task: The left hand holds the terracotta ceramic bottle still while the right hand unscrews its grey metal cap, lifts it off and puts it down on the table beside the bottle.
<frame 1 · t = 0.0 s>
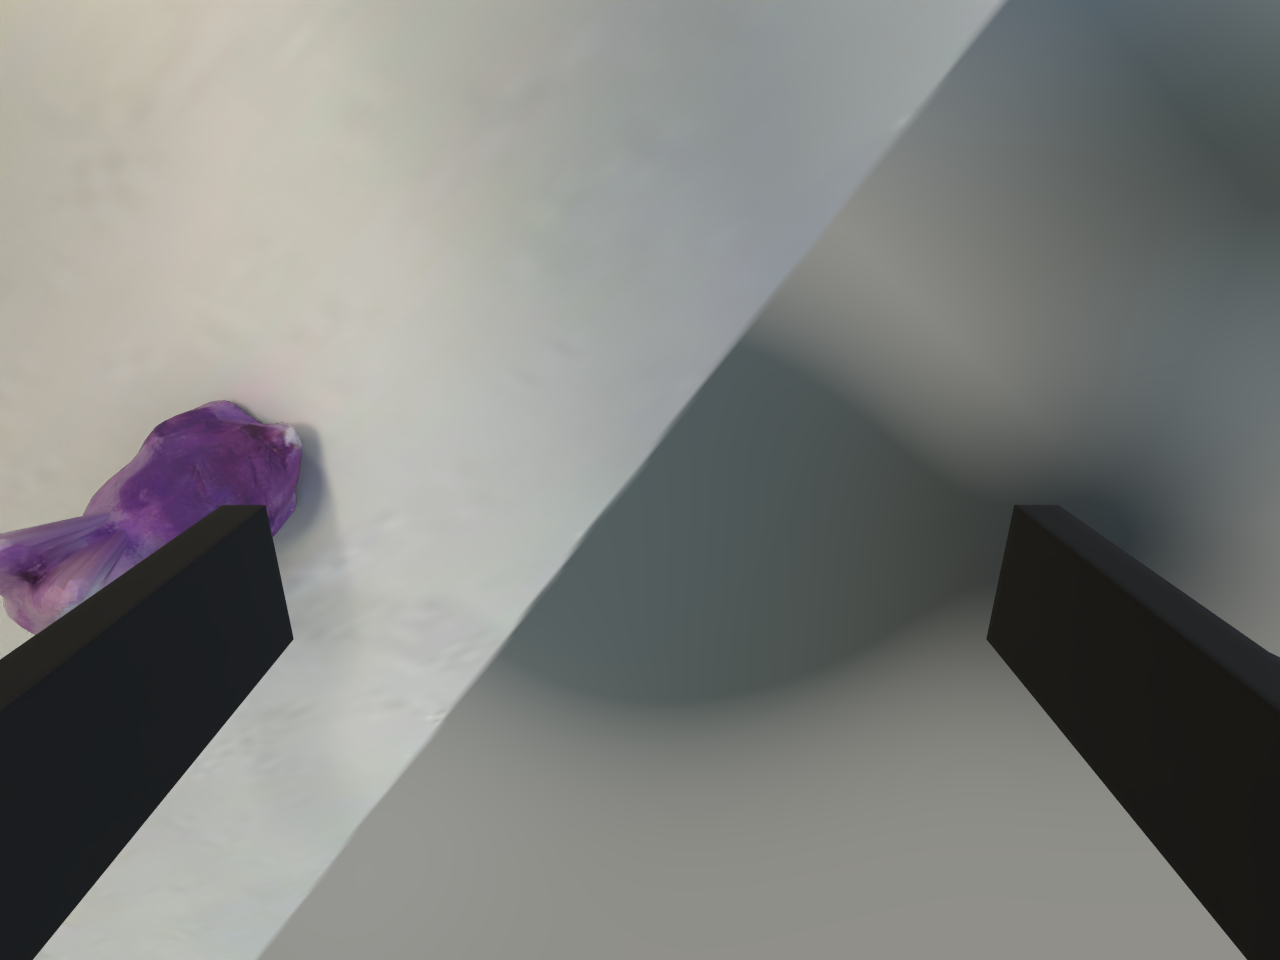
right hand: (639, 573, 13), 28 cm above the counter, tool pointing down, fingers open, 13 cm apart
figurine: (233, 478, 42), on the counter
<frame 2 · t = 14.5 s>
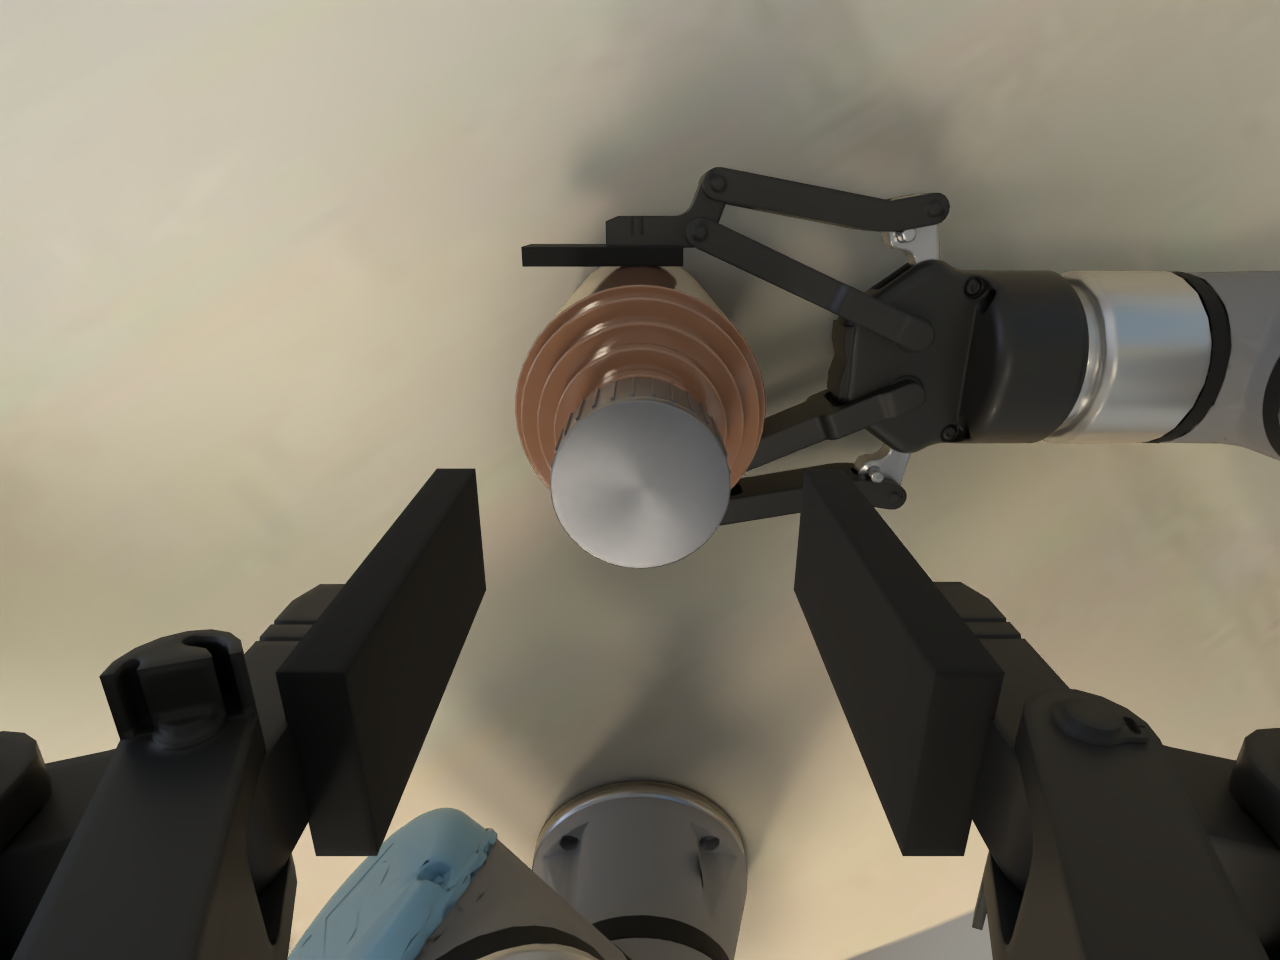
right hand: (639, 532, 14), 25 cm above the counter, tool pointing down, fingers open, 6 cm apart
left hand: (533, 358, 31), fingers closed on bottle, 8 cm apart
bottle: (640, 333, 37), on the counter, touching left hand
cap: (640, 483, 17), point 22 cm above the counter, screwed on, not yet turned
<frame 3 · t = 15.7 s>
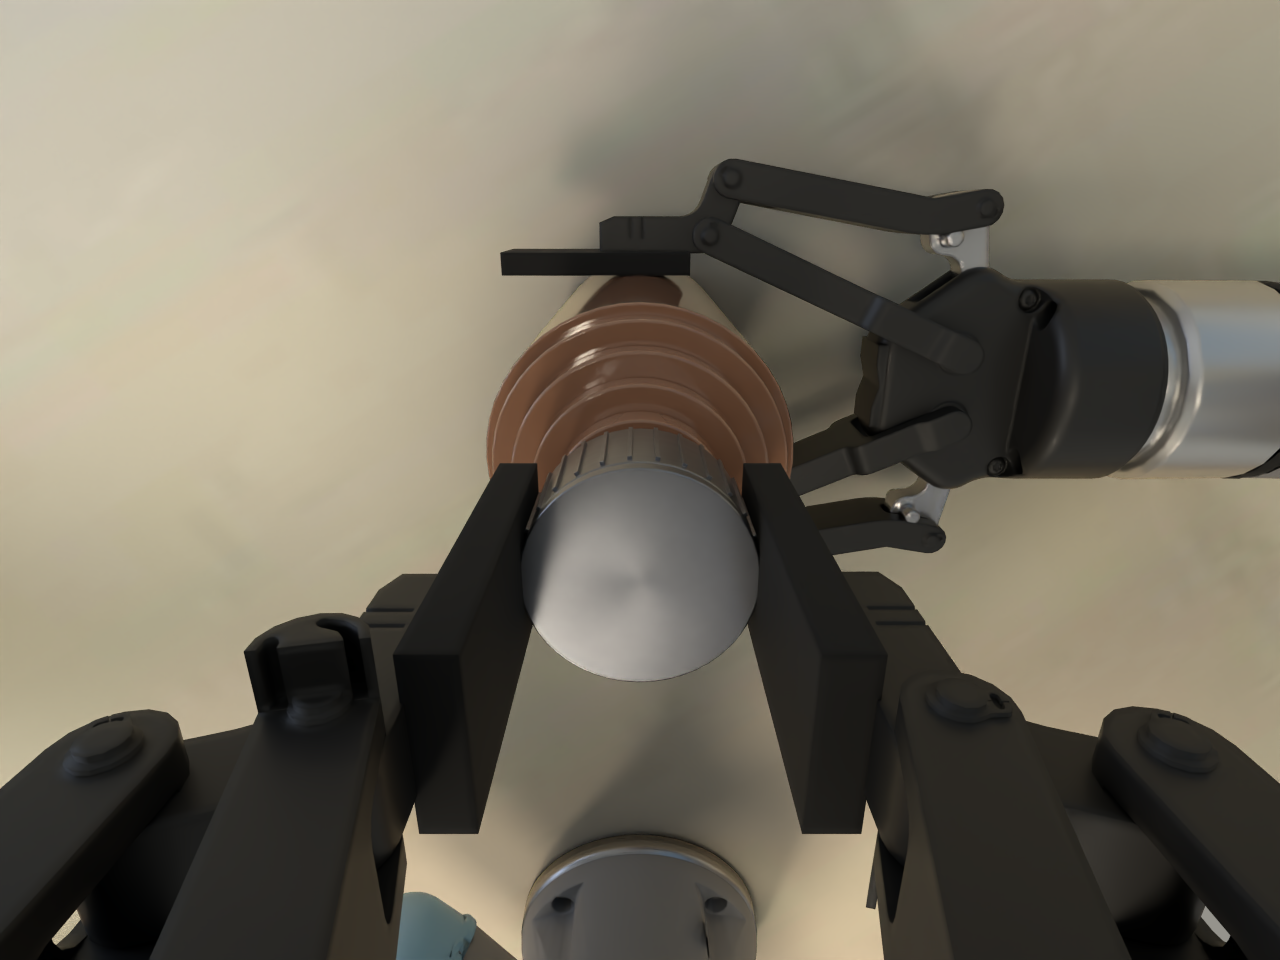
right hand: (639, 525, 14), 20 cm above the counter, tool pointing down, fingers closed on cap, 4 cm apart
left hand: (516, 381, 27), fingers closed on bottle, 8 cm apart
bottle: (639, 348, 33), on the counter, touching left hand
cap: (639, 573, 12), point 22 cm above the counter, screwed on, not yet turned, touching right hand
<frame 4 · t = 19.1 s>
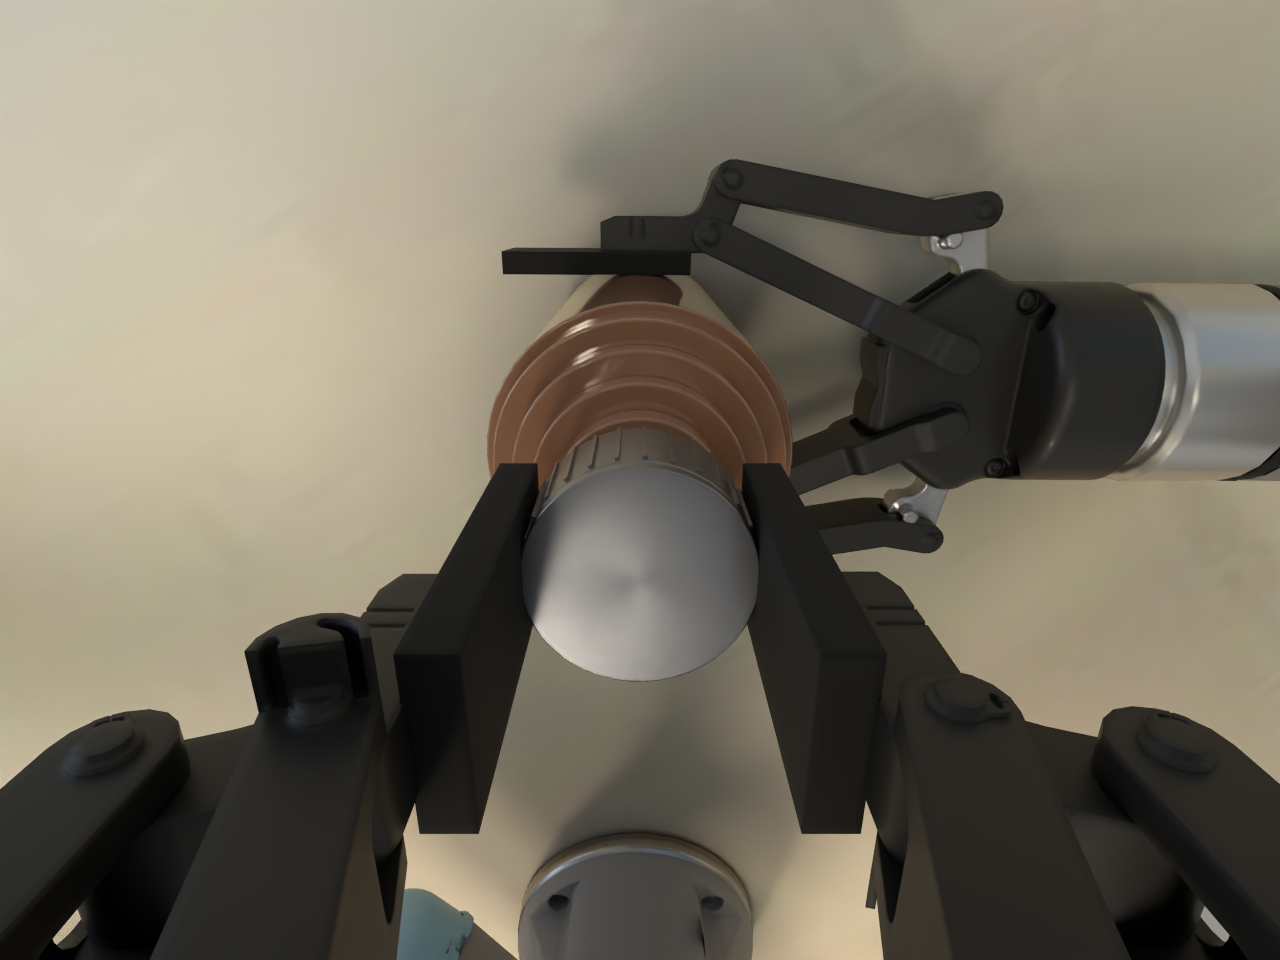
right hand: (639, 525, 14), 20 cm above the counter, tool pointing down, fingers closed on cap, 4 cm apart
left hand: (516, 379, 27), fingers closed on bottle, 8 cm apart
bottle: (639, 348, 33), on the counter, touching left hand
cap: (639, 573, 12), point 22 cm above the counter, turned 109° so far, risen 0.1 cm, still on its thread, touching right hand
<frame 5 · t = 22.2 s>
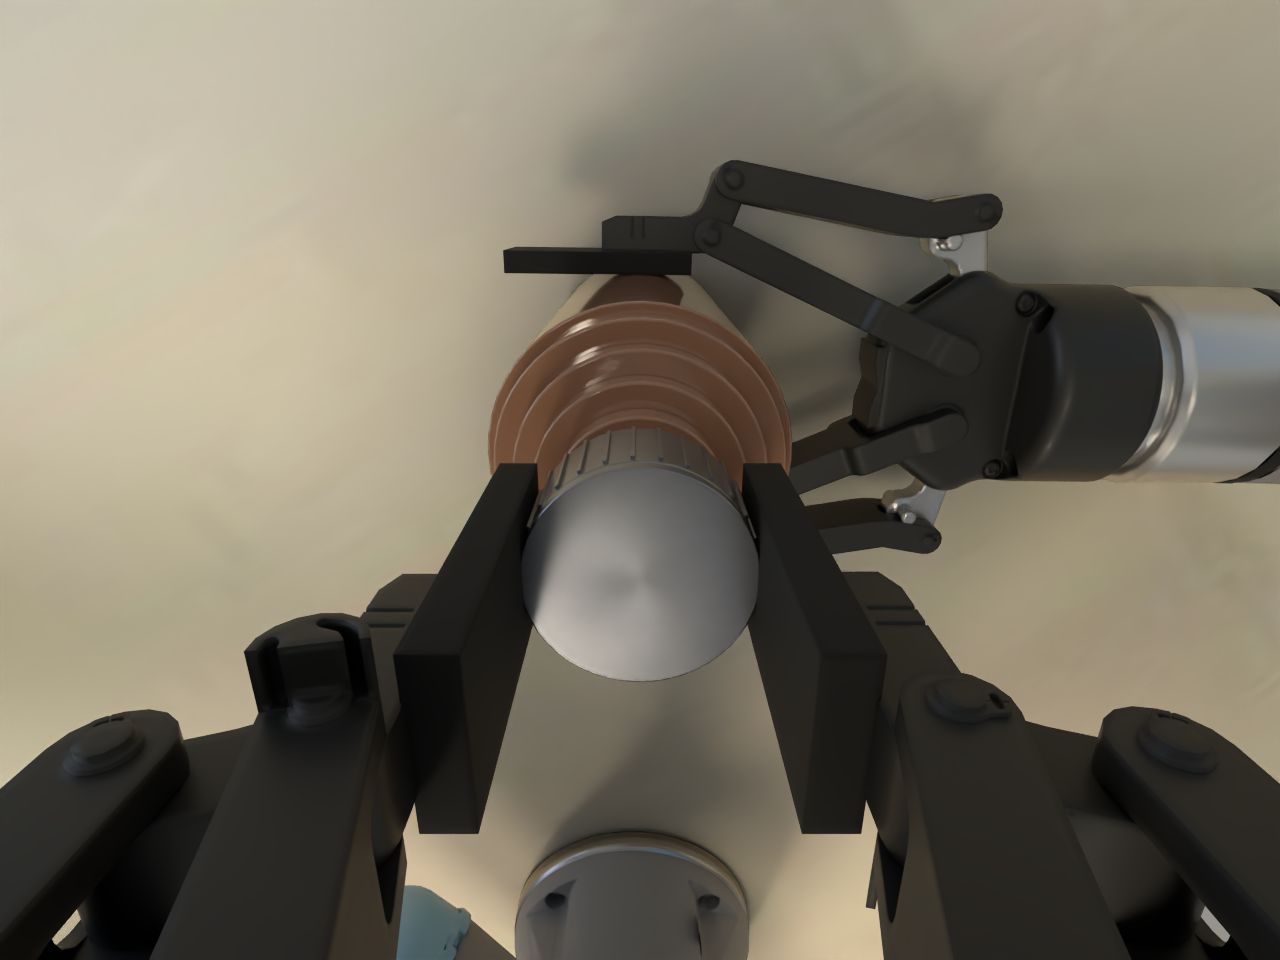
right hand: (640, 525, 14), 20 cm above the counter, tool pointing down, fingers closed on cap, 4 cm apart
left hand: (517, 378, 27), fingers closed on bottle, 8 cm apart
bottle: (639, 347, 33), on the counter, touching left hand
cap: (640, 573, 12), point 22 cm above the counter, turned 218° so far, risen 0.2 cm, still on its thread, touching right hand
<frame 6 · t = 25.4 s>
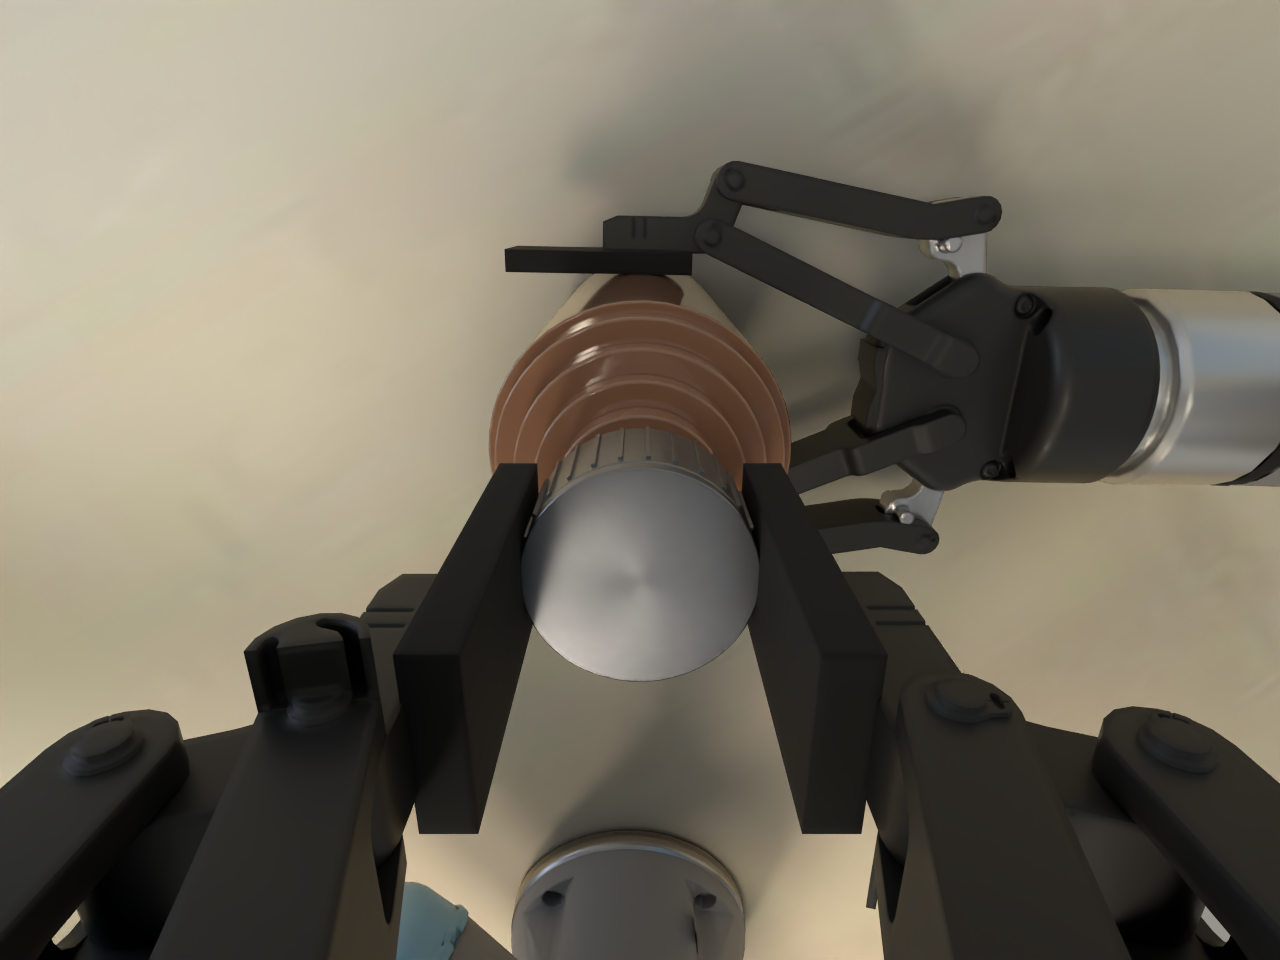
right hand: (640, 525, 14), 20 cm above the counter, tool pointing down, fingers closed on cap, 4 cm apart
left hand: (517, 376, 27), fingers closed on bottle, 8 cm apart
bottle: (640, 347, 34), on the counter, touching left hand
cap: (640, 573, 12), point 22 cm above the counter, turned 327° so far, risen 0.3 cm, still on its thread, touching right hand
when the right hand's fingers open (1 cm above the counter, at t = 33.3 s): cap stays where it is, point 2 cm above the counter.
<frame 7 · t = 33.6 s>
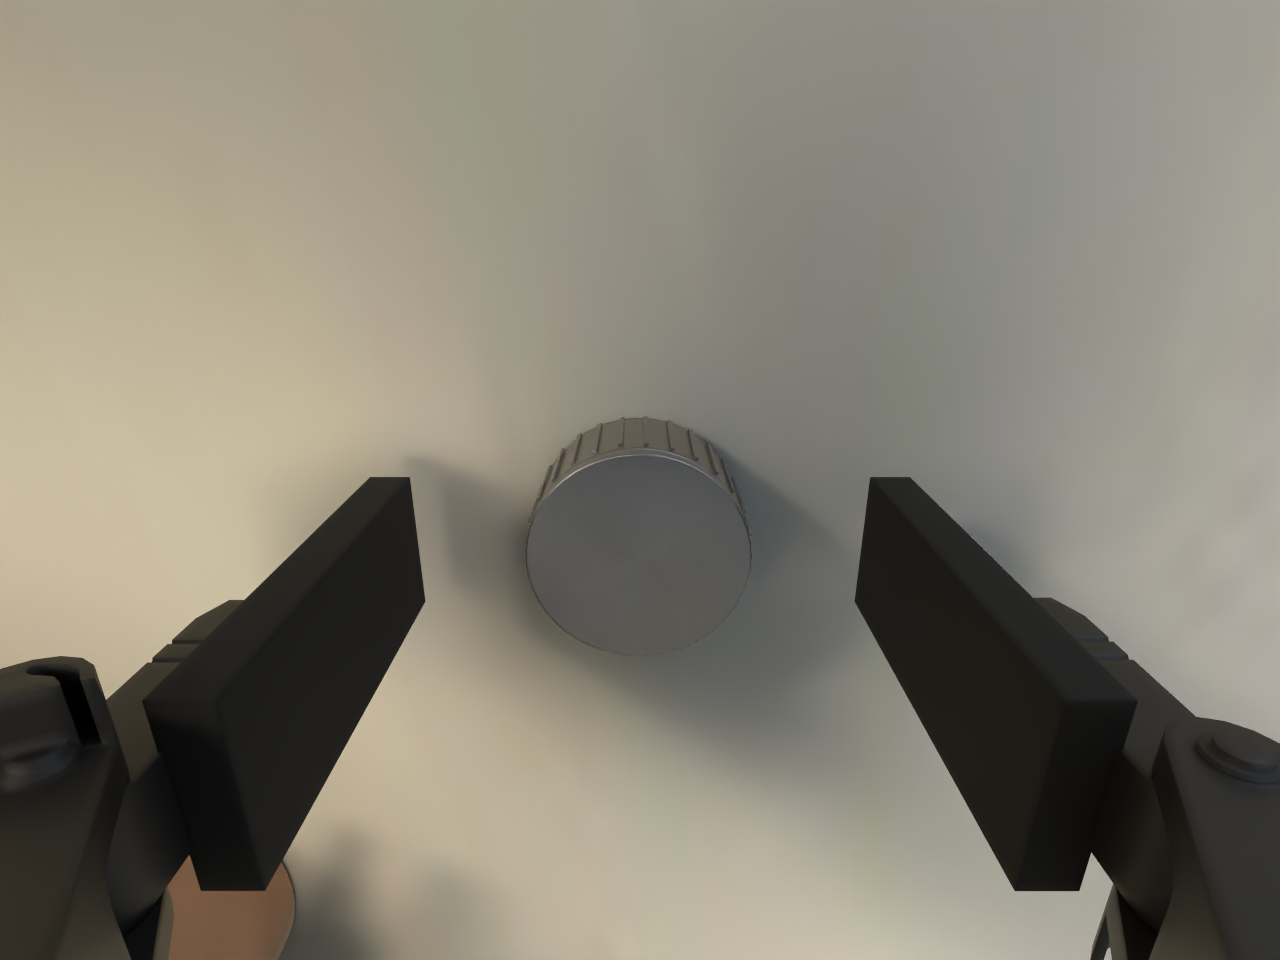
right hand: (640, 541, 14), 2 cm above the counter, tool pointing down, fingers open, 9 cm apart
bottle: (148, 888, 19), on the counter, touching left hand
cap: (638, 553, 13), point 2 cm above the counter, off its thread
when the left hand's fingers open (7 cm above the counter, at t = 34.6 s): bottle stays where it is, on the counter.
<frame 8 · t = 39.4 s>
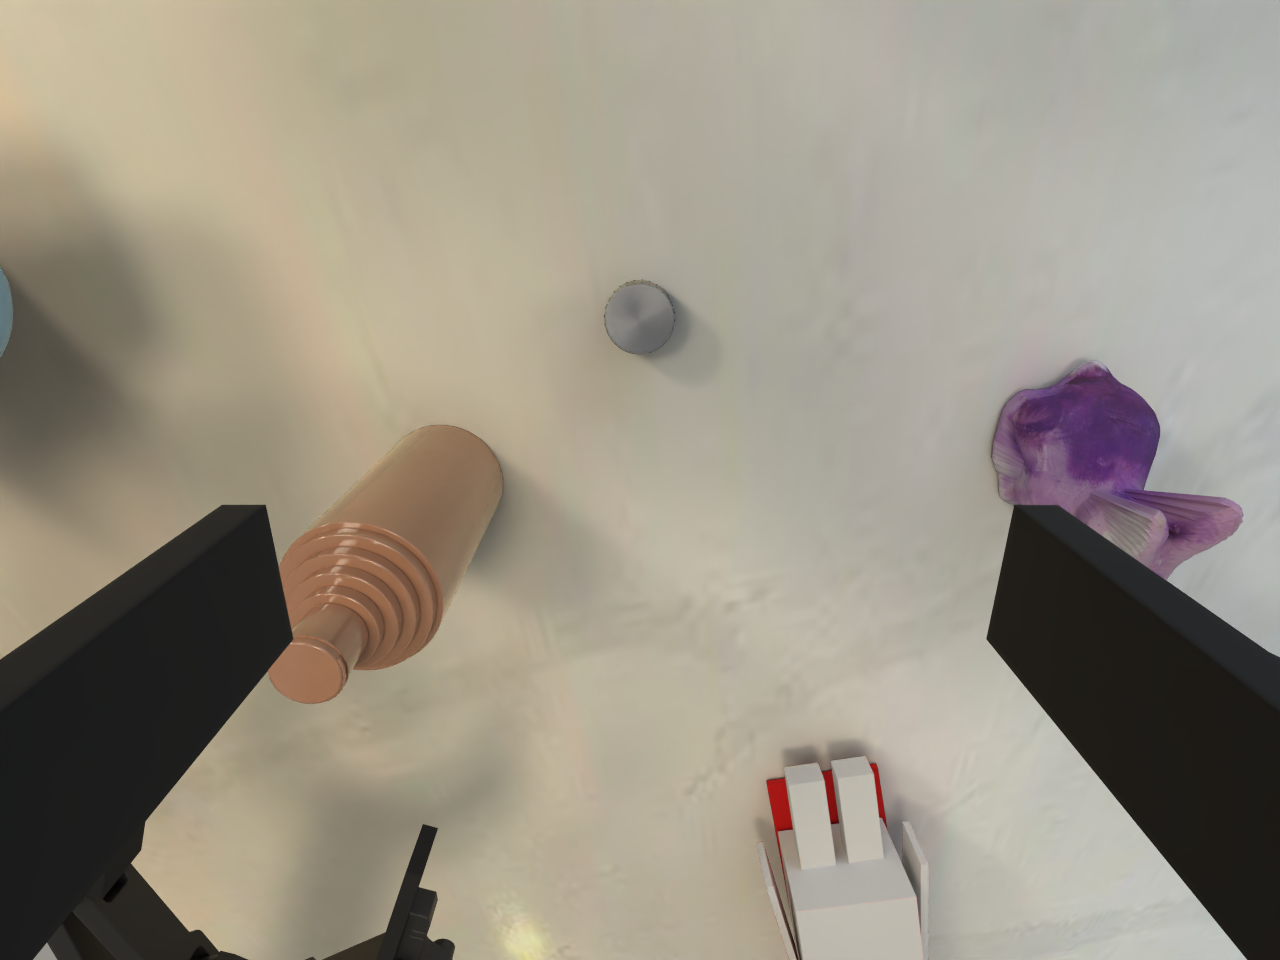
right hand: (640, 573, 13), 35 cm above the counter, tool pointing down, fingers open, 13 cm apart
figurine: (1047, 446, 48), on the counter
bottle: (445, 479, 49), on the counter
toy: (828, 866, 62), on the counter
cap: (639, 319, 43), point 2 cm above the counter, off its thread
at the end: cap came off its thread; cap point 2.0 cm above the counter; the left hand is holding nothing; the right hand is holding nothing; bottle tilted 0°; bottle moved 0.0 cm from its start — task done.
